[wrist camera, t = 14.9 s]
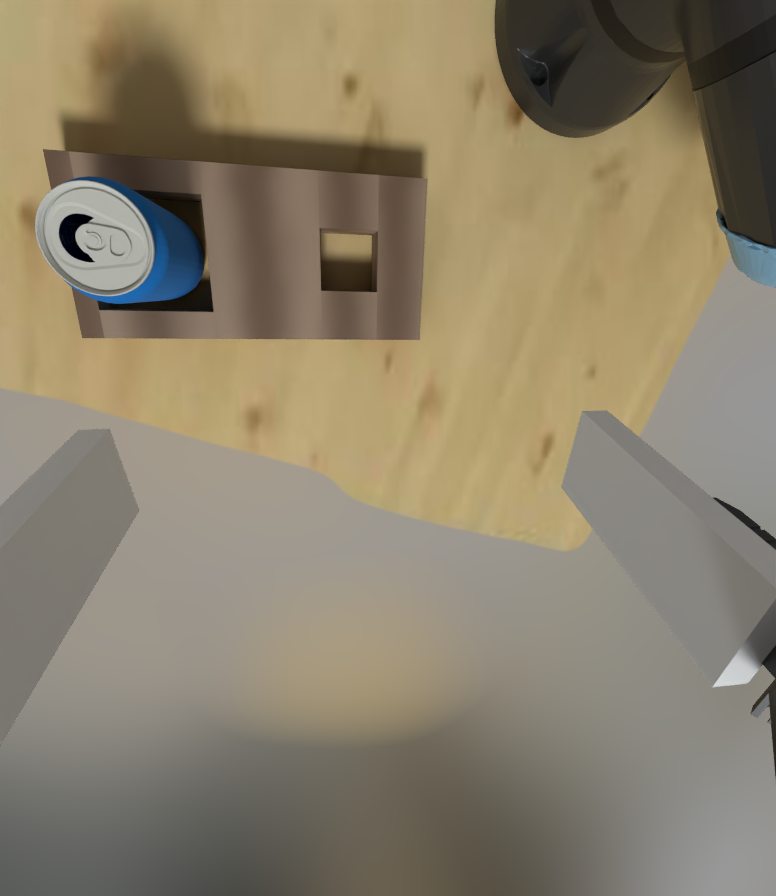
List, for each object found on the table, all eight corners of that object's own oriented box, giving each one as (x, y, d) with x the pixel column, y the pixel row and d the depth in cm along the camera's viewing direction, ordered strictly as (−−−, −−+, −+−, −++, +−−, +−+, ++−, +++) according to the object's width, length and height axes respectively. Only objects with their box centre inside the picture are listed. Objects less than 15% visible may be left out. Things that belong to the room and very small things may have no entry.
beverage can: (116, 200, 32) (20, 154, 21) (208, 221, 34) (163, 187, 23) (117, 291, 34) (30, 292, 23) (204, 306, 36) (161, 314, 25)
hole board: (417, 187, 36) (427, 178, 33) (411, 336, 40) (419, 339, 37) (66, 161, 31) (42, 149, 28) (99, 334, 35) (82, 338, 32)
